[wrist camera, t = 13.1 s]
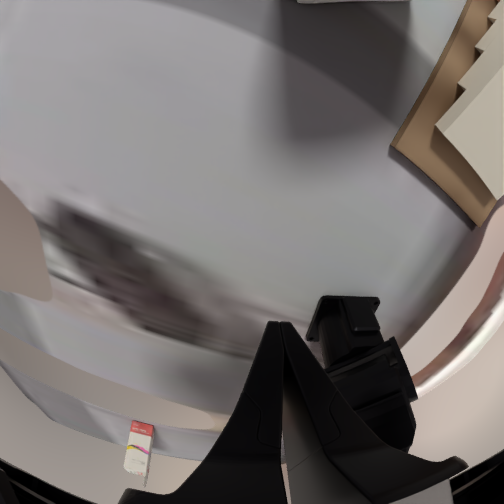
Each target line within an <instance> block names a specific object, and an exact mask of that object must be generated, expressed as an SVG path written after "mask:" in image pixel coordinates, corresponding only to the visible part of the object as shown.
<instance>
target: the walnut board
mask: <svg viewBox="0 0 504 504" xmlns="http://www.w3.org/2000/svg"><path fill="white" fill-rule="evenodd" d="M498 3H499V2H498V1H497V0H467V2H466V4H465V6H464V8H463V11H462V13H461V15H460V17H459V20H458V22H457V24H456V26H455V28H454V30H453V32H452V34H451V36H450V38H449V40H448V42H447V44H446V46H445V48H444V50H443V52H442V54H441V56H440V58H439V60H438V62H437V64H436V66H435V68H434V70H433V72H432V73H431V75H430V77H429V79H428V81H427V83H426V84H425V86H424V88H423V90H422V92H421V93H420V95H419V97H418V99H417V100H416V102H415V104H414V106H413V107H412V109H411V111H410V113H409V114H408V116H407V118H406V119H405V121H404V123H403V124H402V126H401V128H400V129H399V131H398V133H397V134H396V136H395V138H394V139H393V141H392V143H391V144H390V145H391V146H393V147H394V148H395V149H397V150H398V151H399V152H400V153H402V154H403V155H404V156H405V157H406V158H408V159H409V160H410V161H411V162H412V163H414V164H415V165H416V166H417V167H418V168H419V169H421V170H422V171H423V172H424V173H425V174H426V175H427V176H428V177H429V178H431V179H432V180H433V181H434V182H435V183H436V184H437V185H438V186H439V187H440V188H441V189H442V190H443V191H444V192H445V193H446V194H447V195H448V196H449V197H450V198H451V199H452V200H453V201H454V202H455V203H456V204H457V205H458V206H459V207H460V208H461V209H462V210H463V211H464V212H465V213H466V214H467V215H468V216H469V218H470V219H471V220H472V221H473V222H474V223H475V224H476V225H477V226H478V227H479V228H480V227H481V225H482V224H483V222H484V221H485V219H486V218H487V216H488V215H489V213H490V211H491V210H492V208H493V207H494V205H495V204H496V202H497V200H496V198H495V197H494V195H493V194H492V193H491V191H490V190H489V188H488V187H487V186H486V184H485V183H484V182H483V180H482V179H481V178H480V176H479V175H478V174H477V173H476V171H475V170H474V169H473V167H472V166H471V165H470V164H469V163H468V161H467V160H466V159H465V158H464V157H463V155H462V154H461V153H460V152H459V151H458V150H457V149H456V147H455V146H454V145H453V144H452V143H451V142H450V141H449V140H448V139H447V138H446V137H445V136H444V135H443V133H442V132H441V131H440V130H439V129H438V128H437V126H436V125H435V124H436V123H437V122H438V121H439V120H440V119H441V117H442V116H443V115H444V114H445V113H446V112H447V111H448V110H449V109H450V107H451V106H452V105H453V104H454V103H455V102H456V101H457V100H458V98H459V97H460V96H461V95H462V94H463V93H464V92H465V91H464V90H463V89H462V88H461V86H460V85H459V84H458V82H459V81H460V79H461V78H462V77H463V76H464V75H465V74H466V72H467V71H468V70H469V69H470V68H471V67H472V65H473V64H474V63H475V62H476V61H477V59H478V58H479V57H480V56H481V54H480V52H479V51H478V50H477V49H476V47H475V46H476V44H477V43H478V42H479V41H480V40H481V38H482V37H483V36H484V35H485V33H486V32H487V31H488V30H489V29H490V27H491V26H492V25H493V23H492V22H491V20H490V19H489V18H488V16H489V15H490V13H491V12H492V11H493V9H494V8H495V7H496V6H497V4H498Z"/></svg>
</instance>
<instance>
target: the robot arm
mask: <svg viewBox="0 0 504 504" xmlns="http://www.w3.org/2000/svg"><path fill="white" fill-rule="evenodd" d="M325 300H327V301H325ZM379 304H380V300H379V298H378V297H356V296H329V295H326V296H323V297H321V299H320V301H319V304H318V307H317V310H316V312H315V315H314V318H313V320H312V323H311V325H310V328H309V331H308V333H307V336H306V338H307V341H320V346H321V350H322V355H323V360H324V364H325V369H323V368H322V366H321V365H320V363H319V362H318V361H317V359H316V358H315V356H314V355H313V353H312V352H311V351H310V349H309V348H308V346H307V345H306V343H305V342H304V341H303V339H302V338H301V336H300V335H299V333H298V332H297V331H296V329H295V328H294V326H293V325H292V323H291V322H285V321H281V322H278V321H268V323H267V325H266V328H265V331H264V334H263V337H262V339H261V342H260V345H259V348H258V350H257V353H256V356H255V359H254V361H253V364H252V367H251V369H250V372H249V375H248V377H247V380H246V383H245V385H244V388H243V391H242V393H241V395H240V398H239V401H238V403H237V405H236V407H235V410H234V412H233V414H232V416H231V417H230V419H229V421H228V423H227V425H226V426H225V428H224V429H223V431H222V433H221V434H220V436H219V437H218V439H217V441H216V442H215V444H214V445H213V447H212V449H211V450H210V452H209V453H208V455H207V456H206V457H205V459H204V460H203V461H202V462H201V464H200V465H199V466H198V467H197V468H196V469H195V471H194V472H193V473H192V474H191V475H190V476H189V477H188V478H187V479H186V480H185V482H184V483H183V484H182V485H181V486H180V487H179V488H178V489H177V490H176V491H174V492H173V493H170V494H165V495H162V494H155V493H150V492H145V491H140V490H136V489H131V488H127V489H126V490H125V492H124V493H123V495H122V497H121V499H120V500H119V503H118V504H288V502H287V497H286V491H285V486H284V480H283V474H282V468H281V450H280V449H281V438H282V433H283V440H284V448H285V456H286V463H287V471H288V480H289V487H290V495H291V504H504V449H503V450H502V451H500V452H499V453H497V454H495V455H493V456H492V457H490V458H488V459H486V460H485V461H483V462H481V463H479V464H478V465H475V466H474V467H472V468H470V469H468V470H466V471H464V472H462V473H461V474H459V475H457V476H455V477H453V478H451V479H449V478H450V477H452V476H454V475H456V474H458V473H459V472H461V471H463V470H465V469H466V468H468V467H469V466H468V465H467V463H466V462H465V461H464V460H462V459H460V458H458V457H457V456H453V457H450V458H448V459H446V460H444V461H441V462H432V461H428V460H425V459H422V458H419V457H416V456H414V455H411V454H408V451H409V448H410V446H411V445H412V443H413V438H414V434H415V429H416V421H415V418H414V414H413V411H412V408H411V405H410V402H413V401H415V400H417V399H418V396H417V393H416V390H415V387H414V384H413V381H412V378H411V376H410V373H409V370H408V368H407V365H406V363H405V360H404V359H403V356H402V354H401V351H400V349H399V346H398V344H397V342H396V340H395V337H394V336H393V337H391V338H389V340H388V341H386V342H384V340H383V337H382V335H381V332H380V326H379V323H378V321H377V319H376V316H375V312H376V310H377V308H378V306H379ZM0 504H96V503H94V502H91V501H88V500H85V499H83V498H81V497H78V496H76V495H73V494H71V493H68V492H66V491H64V490H62V489H60V488H57V487H56V486H53V485H51V484H49V483H47V482H45V481H43V480H41V479H39V478H37V477H35V476H33V475H32V474H30V473H28V472H26V471H24V470H22V469H20V468H18V467H16V466H14V465H12V464H10V463H8V462H6V461H5V460H3V459H1V458H0Z"/></svg>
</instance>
